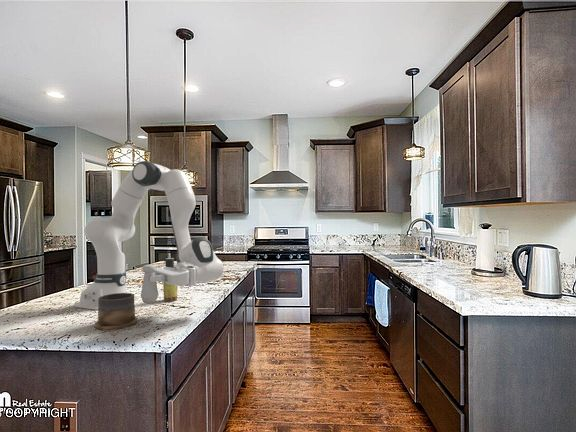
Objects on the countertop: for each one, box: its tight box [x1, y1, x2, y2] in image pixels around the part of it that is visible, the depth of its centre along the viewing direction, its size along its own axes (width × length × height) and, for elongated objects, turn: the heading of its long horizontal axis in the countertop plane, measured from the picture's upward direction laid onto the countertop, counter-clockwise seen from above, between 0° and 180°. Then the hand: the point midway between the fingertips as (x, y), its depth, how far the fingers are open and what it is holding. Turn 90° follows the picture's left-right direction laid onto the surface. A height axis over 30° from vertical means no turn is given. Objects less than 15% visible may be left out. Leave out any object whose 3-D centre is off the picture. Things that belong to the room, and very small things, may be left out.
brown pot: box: [94, 292, 139, 331], centre depth 121 cm, size 14×14×10 cm
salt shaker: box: [140, 264, 159, 304], centre depth 116 cm, size 6×6×13 cm
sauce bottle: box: [162, 257, 178, 302], centre depth 156 cm, size 7×6×20 cm
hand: (146, 278), depth 116 cm, fingers closed on salt shaker, 3 cm apart
